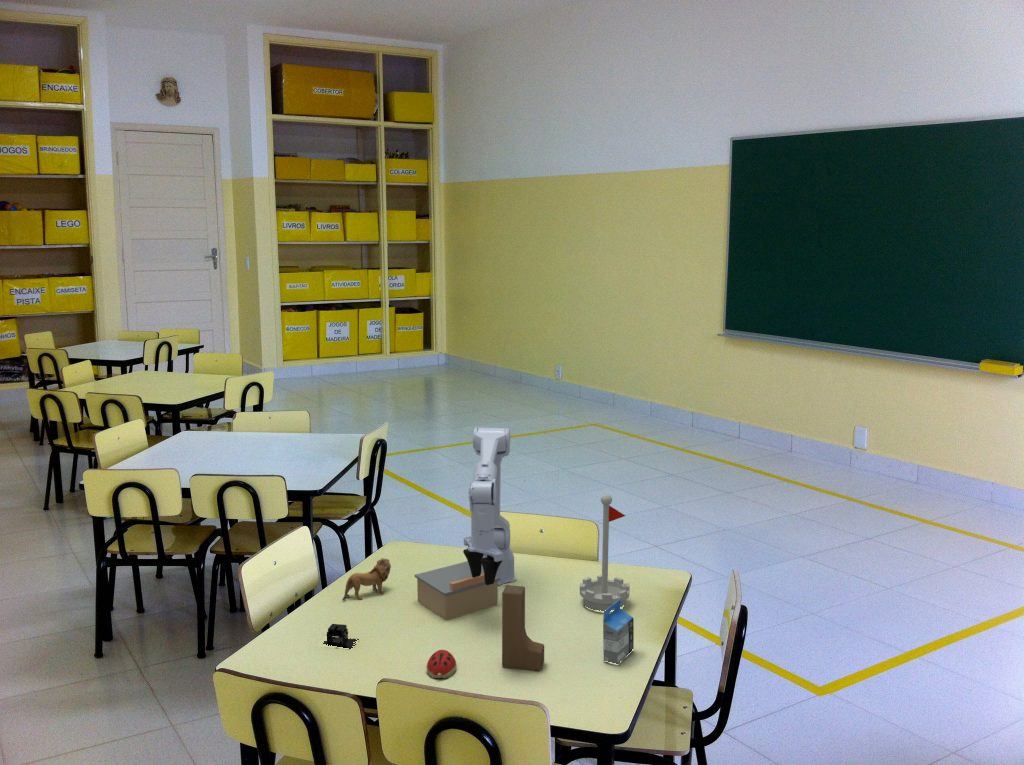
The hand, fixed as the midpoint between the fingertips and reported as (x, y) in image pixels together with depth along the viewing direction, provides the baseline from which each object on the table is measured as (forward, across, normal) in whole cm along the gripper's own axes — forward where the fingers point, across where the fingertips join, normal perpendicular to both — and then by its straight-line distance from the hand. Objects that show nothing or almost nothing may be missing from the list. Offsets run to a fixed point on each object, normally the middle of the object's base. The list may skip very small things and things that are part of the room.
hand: (482, 580), depth 223 cm
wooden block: (+11, +25, -6) cm, 28 cm away
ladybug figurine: (+11, +16, -22) cm, 29 cm away
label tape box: (+11, +35, +14) cm, 39 cm away
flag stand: (+11, +11, +31) cm, 35 cm away
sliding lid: (+4, -12, 0) cm, 13 cm away
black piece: (+11, -10, -35) cm, 38 cm away
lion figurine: (+11, -31, -16) cm, 37 cm away
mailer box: (+10, -12, 0) cm, 16 cm away
